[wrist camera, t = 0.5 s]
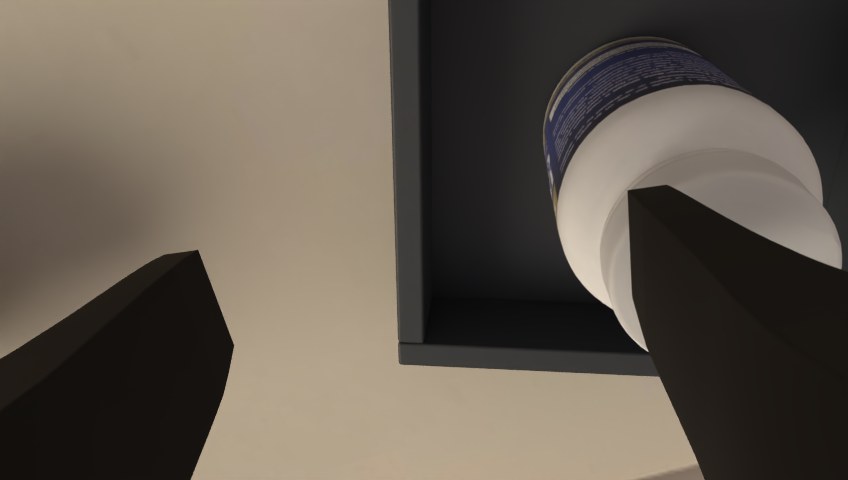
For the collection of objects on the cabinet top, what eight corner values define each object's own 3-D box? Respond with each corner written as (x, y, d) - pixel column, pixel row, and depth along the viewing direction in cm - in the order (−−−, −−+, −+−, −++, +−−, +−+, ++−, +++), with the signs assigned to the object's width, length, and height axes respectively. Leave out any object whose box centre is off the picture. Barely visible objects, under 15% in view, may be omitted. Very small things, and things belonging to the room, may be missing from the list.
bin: (818, 328, 24) (863, 387, 21) (410, 311, 25) (398, 365, 22) (934, -134, 18) (1017, -142, 15) (401, -126, 20) (383, -131, 17)
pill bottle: (503, 131, 22) (505, 280, 13) (639, -8, 20) (748, 58, 11) (626, 243, 23) (704, 450, 14) (766, 122, 21) (958, 274, 12)
